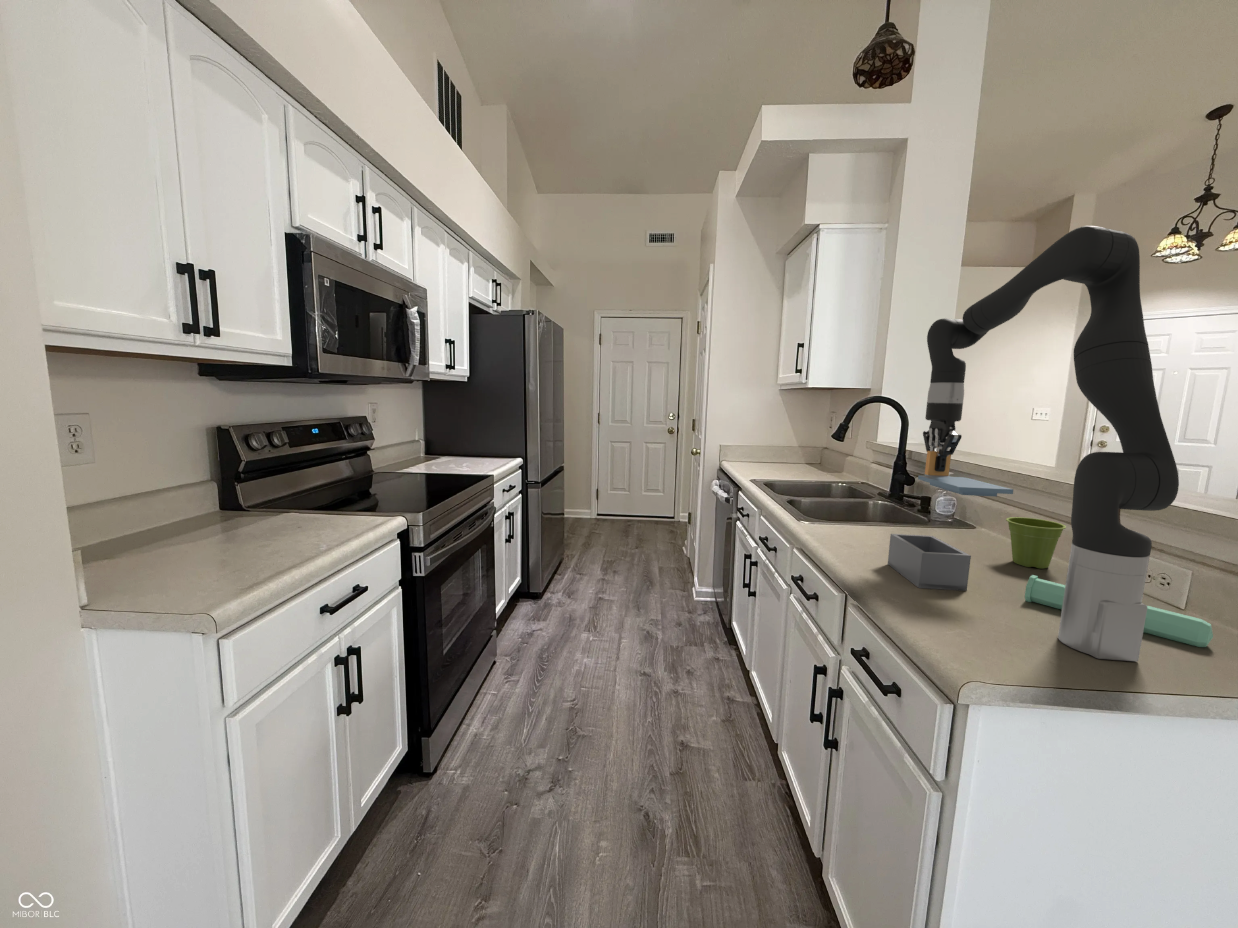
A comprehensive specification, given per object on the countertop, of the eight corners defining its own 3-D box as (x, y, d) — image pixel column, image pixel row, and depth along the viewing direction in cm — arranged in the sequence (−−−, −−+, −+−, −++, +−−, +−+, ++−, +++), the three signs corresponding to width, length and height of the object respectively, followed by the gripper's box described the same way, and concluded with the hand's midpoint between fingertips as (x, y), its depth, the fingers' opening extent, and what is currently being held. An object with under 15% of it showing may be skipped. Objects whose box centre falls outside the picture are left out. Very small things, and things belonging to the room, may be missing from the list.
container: (1218, 613, 85) (1034, 569, 104) (1213, 634, 82) (1025, 584, 101) (1212, 639, 87) (1033, 591, 106) (1207, 660, 84) (1024, 607, 103)
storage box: (966, 590, 108) (970, 555, 107) (918, 587, 109) (922, 552, 108) (929, 566, 124) (932, 535, 123) (887, 564, 125) (890, 533, 124)
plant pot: (1007, 554, 136) (1012, 514, 135) (1064, 566, 127) (1070, 523, 126) (995, 562, 129) (1000, 520, 127) (1054, 575, 120) (1061, 530, 118)
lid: (1012, 498, 105) (1017, 461, 104) (958, 496, 106) (962, 459, 105) (956, 483, 125) (960, 452, 124) (911, 481, 126) (915, 450, 125)
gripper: (978, 402, 115) (969, 475, 117) (945, 402, 129) (937, 467, 131) (944, 401, 116) (936, 474, 118) (915, 401, 129) (908, 466, 132)
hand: (937, 470), depth 124 cm, fingers closed on lid, 1 cm apart
